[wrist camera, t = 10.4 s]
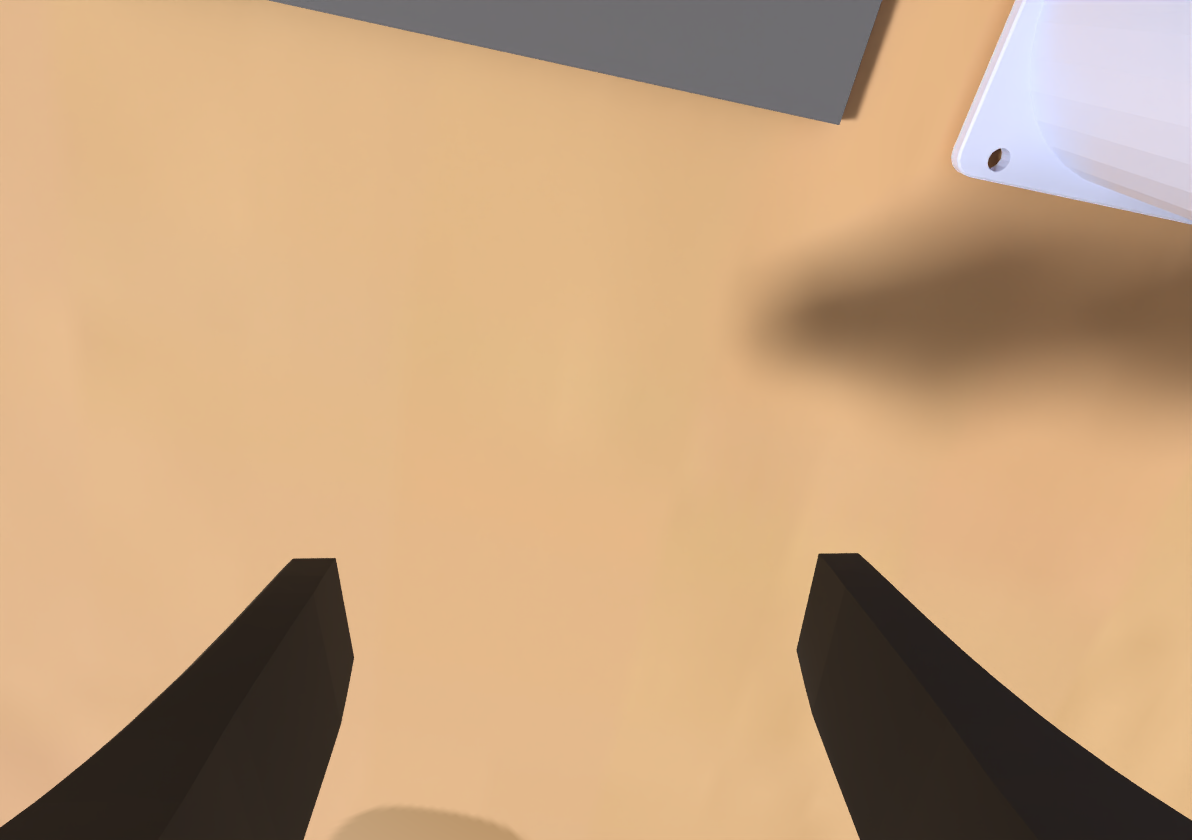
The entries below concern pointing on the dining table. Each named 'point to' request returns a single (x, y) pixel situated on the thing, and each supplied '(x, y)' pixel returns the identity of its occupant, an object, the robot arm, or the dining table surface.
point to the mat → (662, 41)
